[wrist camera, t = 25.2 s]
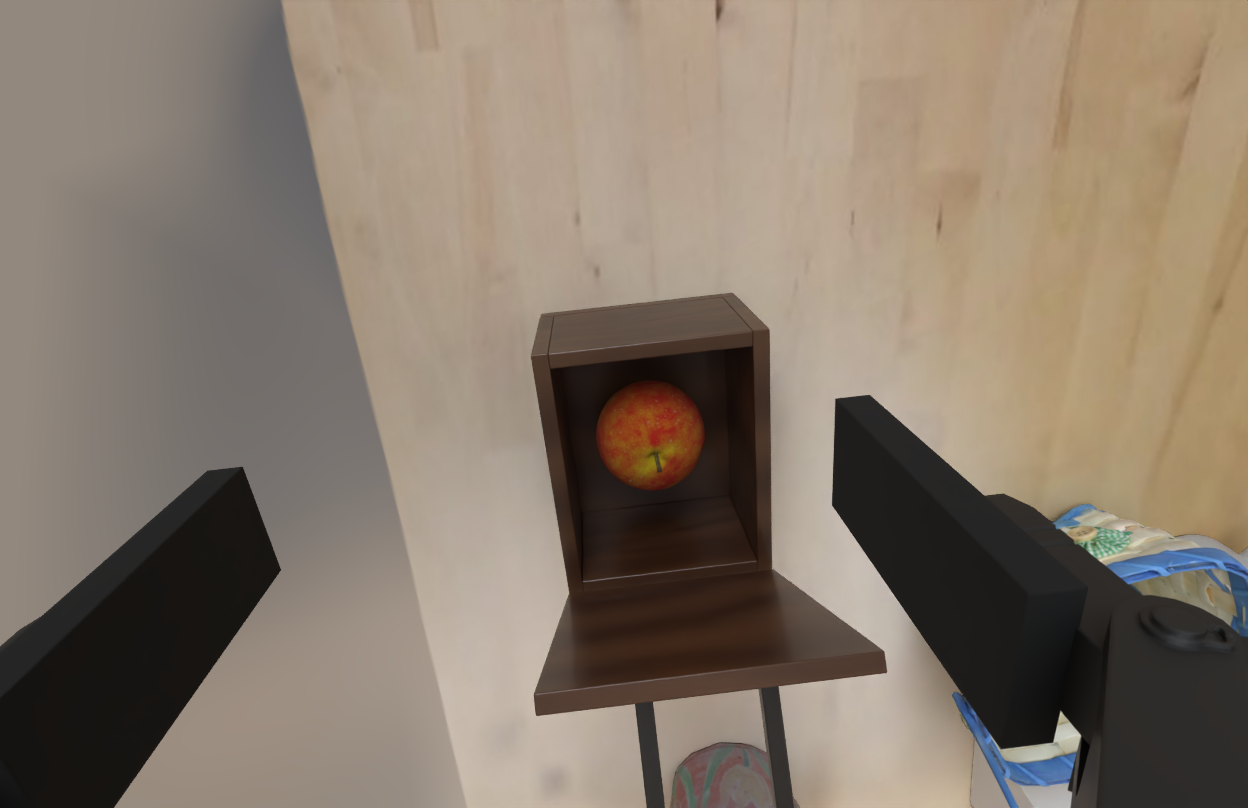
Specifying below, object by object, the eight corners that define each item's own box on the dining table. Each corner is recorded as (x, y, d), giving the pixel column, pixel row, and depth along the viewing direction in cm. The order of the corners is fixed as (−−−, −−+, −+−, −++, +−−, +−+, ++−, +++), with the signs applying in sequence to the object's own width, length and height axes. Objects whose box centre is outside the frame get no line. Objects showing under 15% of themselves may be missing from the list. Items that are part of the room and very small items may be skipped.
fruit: (584, 378, 43) (585, 426, 35) (685, 355, 43) (707, 400, 35) (607, 467, 46) (611, 530, 38) (702, 446, 45) (725, 505, 38)
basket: (1110, 440, 48) (1540, 683, 27) (1140, 594, 54) (1512, 894, 33) (853, 550, 51) (1057, 855, 29) (910, 685, 57) (1113, 1022, 35)
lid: (533, 693, 23) (562, 977, 22) (884, 650, 23) (924, 929, 22) (568, 593, 39) (585, 753, 39) (773, 568, 40) (794, 727, 39)
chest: (540, 313, 42) (530, 355, 34) (733, 292, 42) (769, 328, 34) (571, 517, 48) (569, 595, 40) (739, 497, 48) (772, 570, 40)
